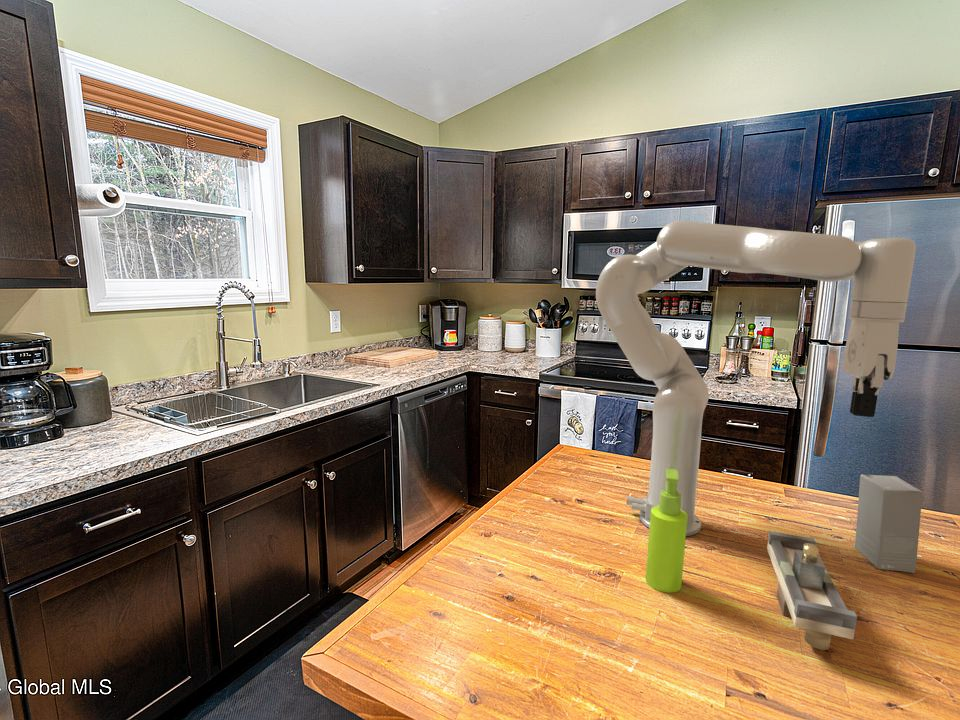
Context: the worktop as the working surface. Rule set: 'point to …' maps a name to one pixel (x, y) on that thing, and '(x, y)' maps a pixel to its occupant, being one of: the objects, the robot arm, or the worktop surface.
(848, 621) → the stand
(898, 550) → the skincare box
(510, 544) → the worktop surface
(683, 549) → the soap dispenser
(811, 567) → the rider
